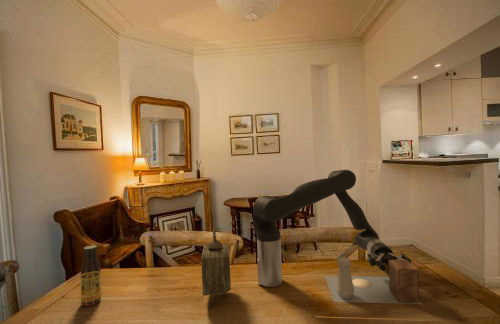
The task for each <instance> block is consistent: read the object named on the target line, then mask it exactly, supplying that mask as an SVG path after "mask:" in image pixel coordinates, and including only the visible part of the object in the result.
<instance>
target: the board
mask: <svg viewBox="0 0 500 324" xmlns="http://www.w3.org/2000/svg"><path fill="white" fill-rule="evenodd" d="M324 278H325V280H326V284H327V287H328V289H329V291H330V296H331V298H332V299H333V302H334V303H361V304H362V303H363V304H365V303H366V304H369V303H370V304H400V305H402V304H405V305H407V304H408V305H409V304H410V305H411V304H412V305H422V303H421V301H419V303H399V302H398V301H397V299H396V298H395V297H394V296H393V294H392V293H391V292H390V285H389V276H369V275H368V276H367V275H366V276H363V275H358V276H357V275H356V276H355V275H351V278H352V282H353V287H354V294H353V296H352V298H350V299H349V300H348V299H342V298H341V297H340V296H339V295H338V292H337V290H336V287H337V280H338V275H324Z"/></svg>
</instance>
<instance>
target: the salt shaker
mask: <svg viewBox="0 0 500 324" xmlns="http://www.w3.org/2000/svg"><path fill="white" fill-rule="evenodd" d="M337 265H338V267H339V268H338V275H337V276H338V280H337V287H336V290H337V292H338V295H339V296H340V297H341V298H342V299H348V300H349V299H350V298H352V296H353V294H354V287H353V282H352V278H351V276H352V273H351V270H350V268H351V266H352V262H351V259H350V258H348V257H345V256H343V257H342V256H341V257H339V258H337Z"/></svg>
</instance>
